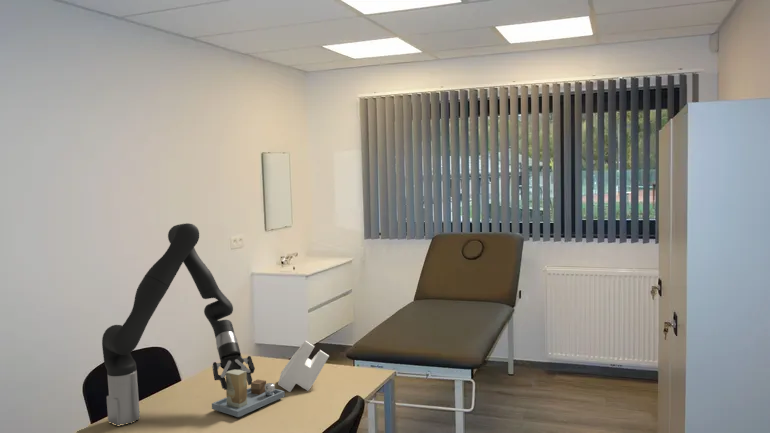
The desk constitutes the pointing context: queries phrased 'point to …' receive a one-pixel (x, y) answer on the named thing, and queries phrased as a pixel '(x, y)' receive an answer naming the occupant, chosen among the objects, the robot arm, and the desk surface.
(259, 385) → the walnut block
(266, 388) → the chrome dome knob
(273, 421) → the desk surface
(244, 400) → the skincare box
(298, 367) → the slotted wedge
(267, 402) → the blue-grey serving tray
